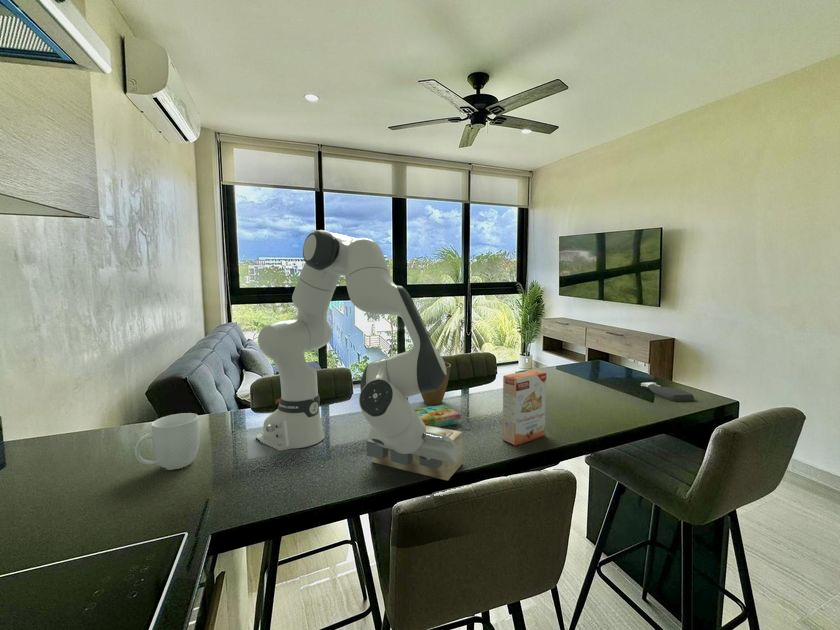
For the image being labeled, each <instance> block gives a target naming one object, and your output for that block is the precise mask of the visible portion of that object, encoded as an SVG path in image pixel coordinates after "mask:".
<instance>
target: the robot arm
mask: <svg viewBox="0 0 840 630" xmlns="http://www.w3.org/2000/svg"><path fill="white" fill-rule="evenodd" d="M303 243H304V244H303V247H302V257H303V260H304V262H305V263H304V264H303V266H302V269H301V271H300V274H299V277H298V279H297V282H296V284H295V288H294V291H293V293H292V296H291V298H292V299H291V300H292V303H293V305H294V307H295V308H296V309H297V310H298V311H297V316H296V317H295V318H294V319H285V320H277V321H275V322H272V323H269V324H266V325H264V326H263V327H262V328H261V329H260V330H259V333H258V336H257V343H258V348H259V349H260V350H261V352H262V353H263V355H265V356H266V357H267V358H269V359H271V361H272V362H273V363H274V365H275V367H276V369H277V371H278V374H279V379H280V382H279V383H280V392H281V393H280V395H281V396H280V398H277V399H275V401H276V402H275V404H277V403H278V404H277V405H278V406H277V409H276V410H274V411H273V412H272V413H271V414H269V415H268V416H267V417H266V418H265V419H264V422H263V427H262V429H263V430H262V431H260V432H259V433H258V434H257V435H256V436H255V439H256V438H257V439H259V440H261V441H262V442H264V443H266V444H267V445H266V444H265V445H266V446H268V445H269V447H270V446H271V448H272V447H273V448H272V449H274V448H275V450H276V449H277V450H276V451H287V450H291V449H301V448H307V447H311V446H313V445H316V444H318V443H320V442H322V440H324V439H325V437H326V436H325V433H324V432H325V431H324V426H323V425H322V424H323V423H322V418H321V413H320V412H321V411H320V406H321V404H320V394H319V393H318V373H317V370H316V369H315V368H314V367H313V366H311V365H309V364H308V363H307V361H306V358H305V353H309V352H313V351H316V350H319V349H321V348H323V347H325V346H326V345H328V344H329V342H330V341H331V339H332V335H333V334H332V333H333V332H332V327H331V325H330V324H329V322H328V310H329V306H330V304H331V302H332V298H333V295H334V293H335V291H336V289H337V285H338V284H339V281H340V278H341V276H344V278H345V283H346V284H345V285H346V289H347V293H348V294H347V295H348V297H349V299H350V303H352V304H353V305H354V306H355V308H357V309H359V310H360V311H362V312H365V313H368V314H373V315H391V316H396V317H400V318H401V319H402V322H403V324H404V327H405V328H406V330H407V333H408V334H409V335H408V336H409V337H410V339H411V342H412V343H413V344H412V347H411V349H409V350H407V351H403V352H400V353H398V354H393V355H391V356H387V357H383V358H381V359H378V360H374V361H372V362H370V363H368V364H367V366H365V369H364V370H363V373H362V375H361V377H360V393H359V396H358V397H359V398H358V403H359V407H360V410H361V413H362V414H363V416H364V418H365V419H366V421H367V423H368V424H369V425H370V427H371V428H370V430H369V434H368V438H367V439H368V440H369V439H370V440H371V441H373V442H375V443H376V444H377V445H379V446H381V447H383V448H387V449H392V450H395V451H396V452H398V453H400V454H409V453H410V454H414V455H416V456H418V457H419V458H422V459H426V460H430V458H432V459H437V460H441V461H445V462H450V463H454V462H456V460H457V457H458V453H459V447H458V446H457V445H456V443H455V442H454V441H453V440H452V439H451V438H449V437H448V436H446V435H443V434H438V433H433V432H428V431H426V427H425V424H424V422H423V421H422V420H421V418H420V417H419V416H418V414H417V413H416V412H415V411H414V408H412V405H411V404H410V402H409V400H408V399H407V398H409V397H413V396H416V395H419V394H420V395H421V393H427V392H432V391H437V390H438V389H439V388H440V387H441V385H442V384H443V382H444V381H445V379H446V377H447V374H446V366H445V363H444V362H445V360H444V358H443V356H442V355H441V353H440V351H439V350H438V349H437V347H436V346H435V343H434V342H433V340H432V338H431V336H430V333H429V331H428V329H427V327H426V324H425V323H424V321H423V319H422V316H421V314H420V312H419V311H418V308H417V306H416V305H415V302H414V301H413V299H412V297H411V295H410V294H409V292H408V291H407V289H406V288H405V287H404V286H402V285H397V284H395V282H394V281H393V280H392V277H391V274H390V270H389V267H388V263H387V260H386V258H385V256H384V253H383V251H382V249H381V247H380V246H379V244H378V243H377V241H375V240H373V239H370V238H365V237H361V238H357V237H354V236H351V235H344V234H340V233H334V232H330V231H329V230H325V229H324V230H323V229H320V230H319V229H315V230H313V231H311V232H310V233H309V234H308V235H307V237H306V238H305V240H304V242H303ZM262 442H261V443H262ZM264 443H263V444H264Z"/></svg>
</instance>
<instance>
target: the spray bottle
mask: <svg viewBox="0 0 840 630" xmlns="http://www.w3.org/2000/svg"><path fill="white" fill-rule="evenodd" d="M640 386H641V387H645V388H648V389H649V390H650V391H651V392H652V393H653V394H655V395H657V396H659V397H661V398H663V399H666V400H669V401H672V402H692V401H694V400H695V396H694V394H692V393H691V392H688V391H685V390H682V389H680V388H675V387H668V386H661V385H659V384H657V382H653V381H651V382H650V381H649V382H641V383H640Z"/></svg>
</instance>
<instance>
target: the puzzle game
mask: <svg viewBox="0 0 840 630" xmlns="http://www.w3.org/2000/svg"><path fill="white" fill-rule="evenodd" d="M413 410H414V411H415V412H416V413H417V414H418V416H419V417H420V418H421V420H422V421H423V422H424V424H425V425H426V426H432V427H438V428H441V427H445V426H451V425H456V424H458V423H459V421H460V420H461V418H462V414H461V413H459V412H457V411H456V410H455V409H453V408H451V407H450V406H448V405H447V404H437V405H429V406H425V407H420V408H413Z"/></svg>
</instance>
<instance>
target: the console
mask: <svg viewBox="0 0 840 630" xmlns="http://www.w3.org/2000/svg"><path fill="white" fill-rule="evenodd" d="M425 427H426V431H428V432H433V433H438V434H443V435H446V436H448V437H449V438H451V439H452V440H453V441H454V442H455V443H456V445H457V446H458V447H459V453H458V457H457V460H456V462H454V463H450V462H445V461H442V465H441V466H440V467H439V468H438V469H436V468H431V467H427V466H423V465H420V464H419V457H418V456H416V455H414V454H412V458H413V461H412V462H411V463H410V464H409V465H404V464H400V463H396V462H392V461H391V449H388V456H386V457H385V458H384V459H379V458H375V457H371V463H373V464H374V463H375V464H379V465H383V466H387V467H390V468H394V469H397V470H398V469H399V470H403V471H407V472H411V473H415V474H419V475H422V476H428V477H432V478H435V479H439V480H442V481H443V480H444V481H447V482H448V481H449V480H450V479H451V477H452V476H453V475H454V474H455V473H456V472H457V470H458V469H459V468H460V467H461V466H462V465H463V432H462V431H460V430H453V429H448V428H443V427H432V426H426V425H425Z"/></svg>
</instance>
